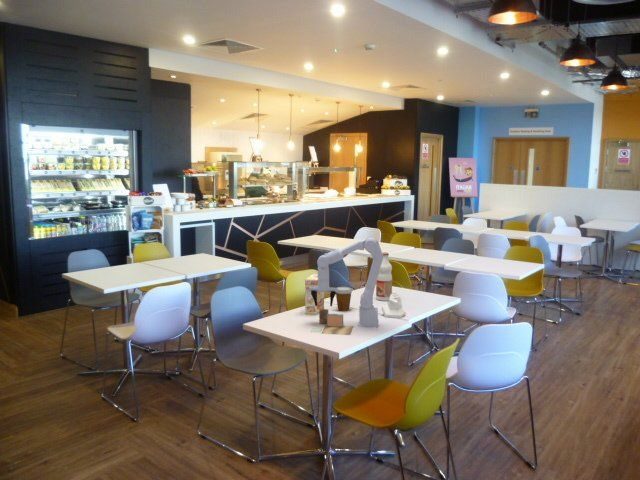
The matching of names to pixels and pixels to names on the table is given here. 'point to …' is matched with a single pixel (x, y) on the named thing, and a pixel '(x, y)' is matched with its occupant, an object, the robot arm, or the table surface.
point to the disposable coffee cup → (343, 298)
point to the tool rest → (316, 330)
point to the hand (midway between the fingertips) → (323, 305)
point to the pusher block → (323, 316)
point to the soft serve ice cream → (393, 307)
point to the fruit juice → (384, 280)
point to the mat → (338, 330)
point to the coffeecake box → (309, 301)
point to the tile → (334, 320)
